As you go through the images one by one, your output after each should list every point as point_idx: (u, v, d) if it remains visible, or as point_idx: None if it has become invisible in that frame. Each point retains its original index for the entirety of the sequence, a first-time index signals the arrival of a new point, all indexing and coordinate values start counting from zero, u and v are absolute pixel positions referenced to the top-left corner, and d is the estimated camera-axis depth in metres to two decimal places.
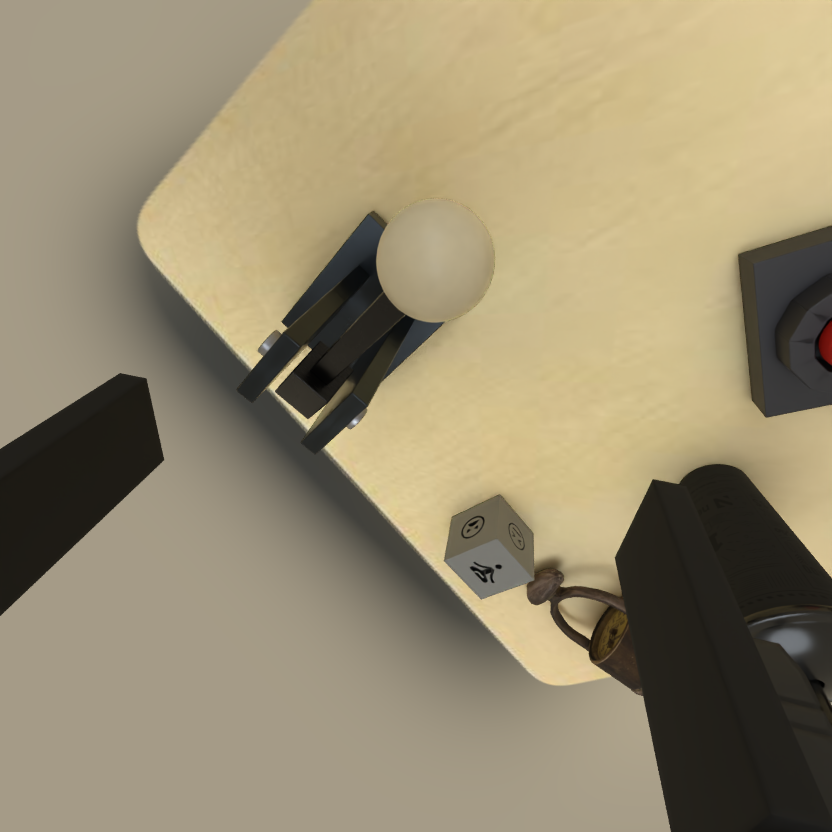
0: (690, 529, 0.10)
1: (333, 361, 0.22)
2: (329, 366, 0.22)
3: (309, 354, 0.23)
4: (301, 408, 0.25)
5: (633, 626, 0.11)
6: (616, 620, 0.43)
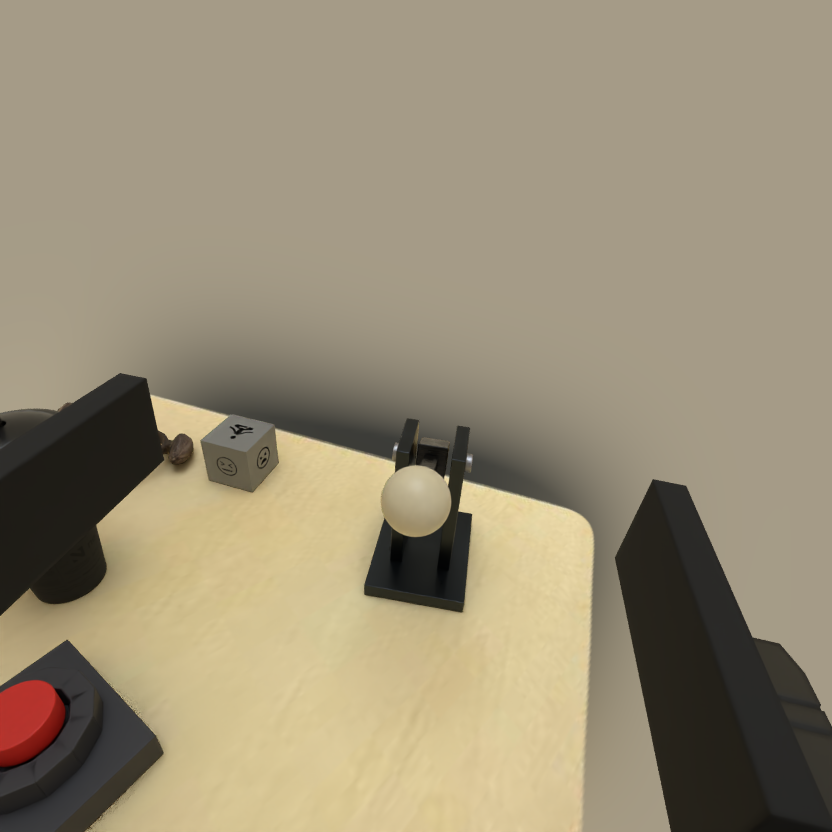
0: (691, 528, 0.10)
1: (430, 460, 0.34)
2: (430, 459, 0.34)
3: (444, 465, 0.36)
4: (430, 439, 0.38)
5: (633, 626, 0.11)
6: None
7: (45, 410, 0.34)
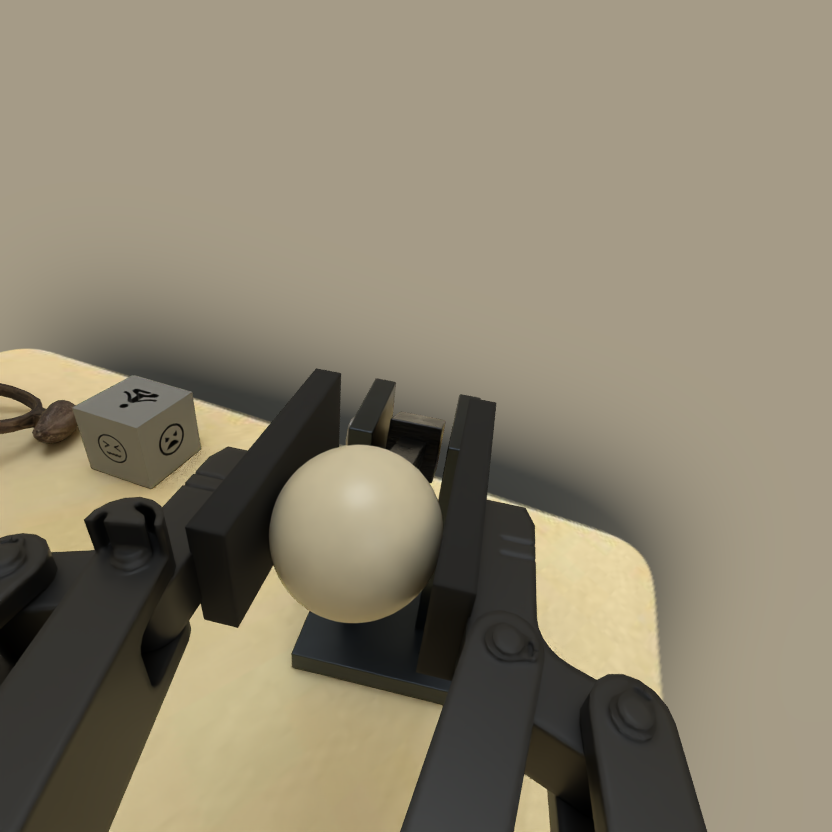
0: (481, 429, 0.12)
1: (407, 447, 0.18)
2: (409, 445, 0.19)
3: (434, 459, 0.20)
4: (412, 415, 0.22)
5: None
6: None
7: None
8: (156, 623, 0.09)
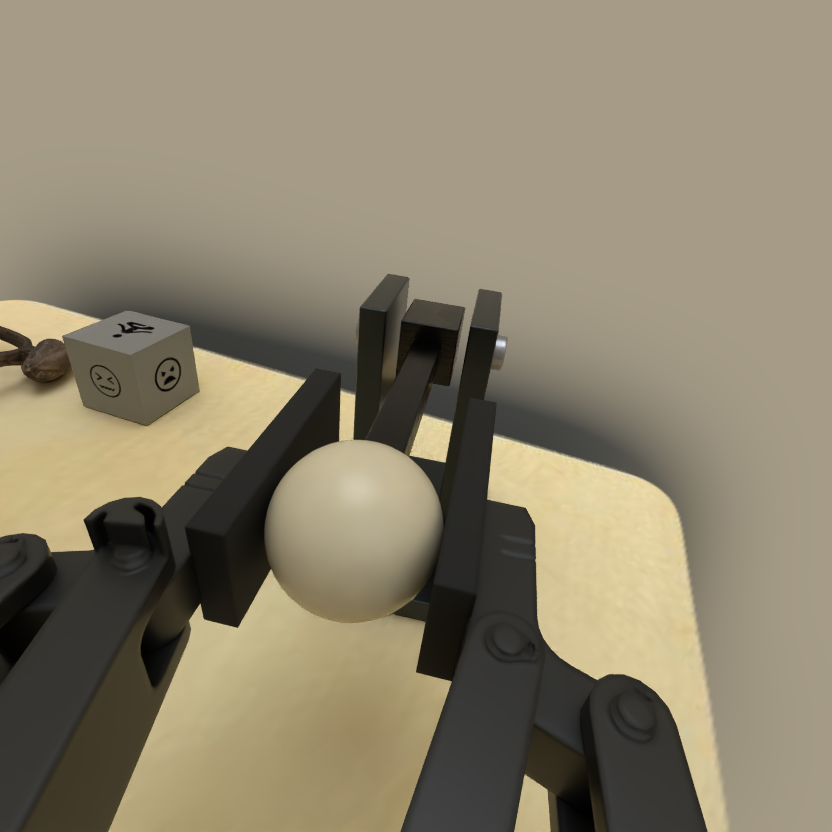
0: (481, 429, 0.12)
1: (419, 363, 0.17)
2: (421, 357, 0.17)
3: (451, 362, 0.19)
4: (427, 304, 0.20)
5: None
6: None
7: None
8: (156, 623, 0.09)
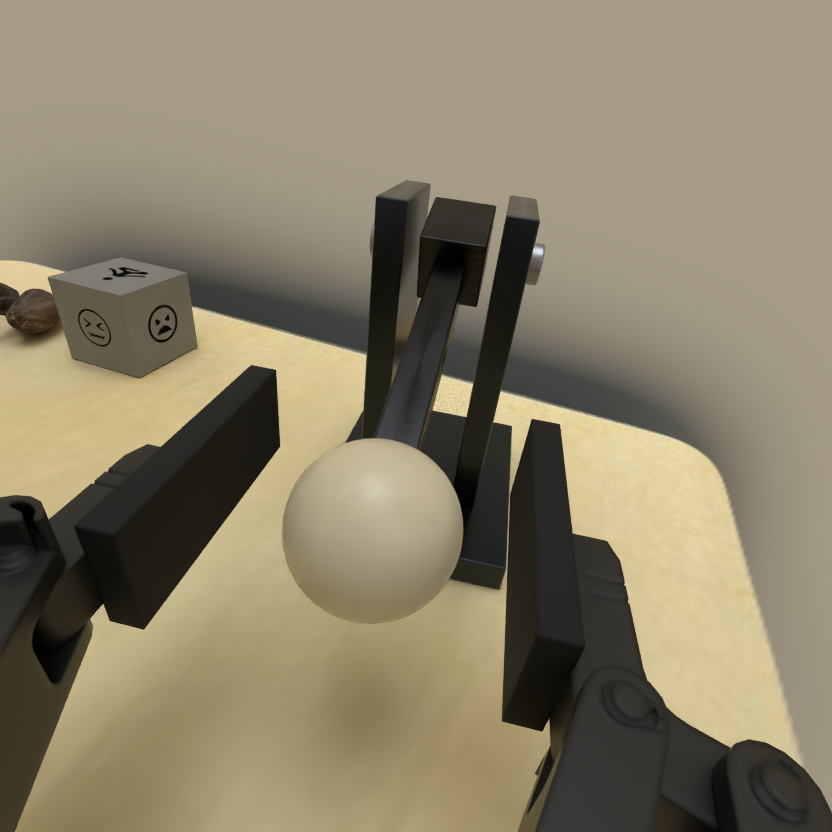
0: (551, 454, 0.12)
1: (441, 295, 0.15)
2: (444, 285, 0.15)
3: (479, 282, 0.16)
4: (451, 206, 0.17)
5: (510, 543, 0.13)
6: None
7: None
8: (50, 621, 0.08)
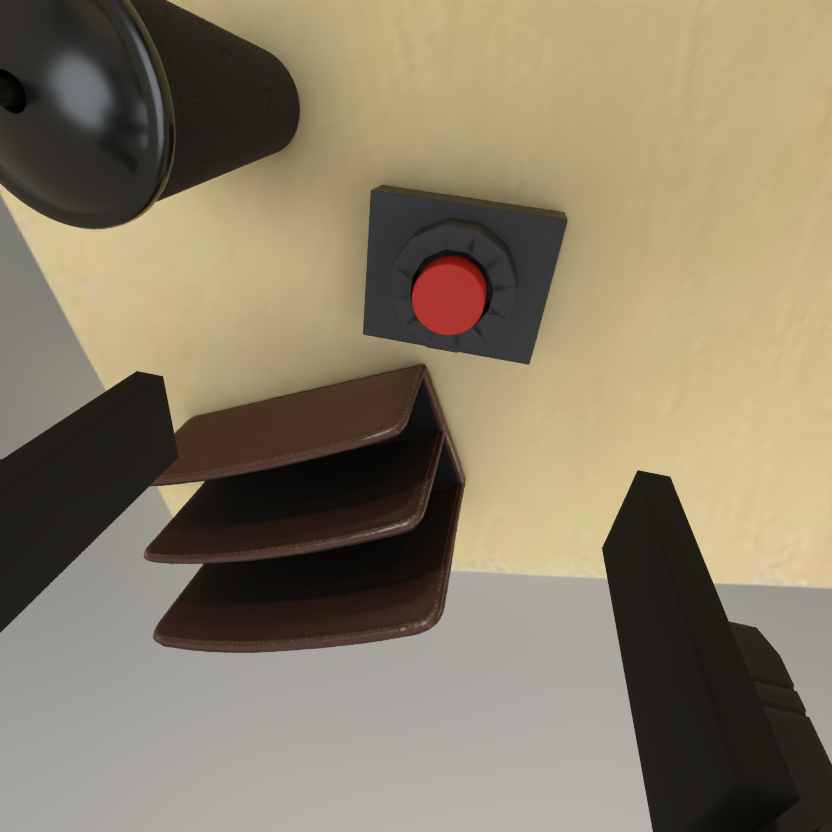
0: (673, 517, 0.10)
1: None
2: None
3: None
4: None
5: (617, 613, 0.11)
6: None
7: None
8: None
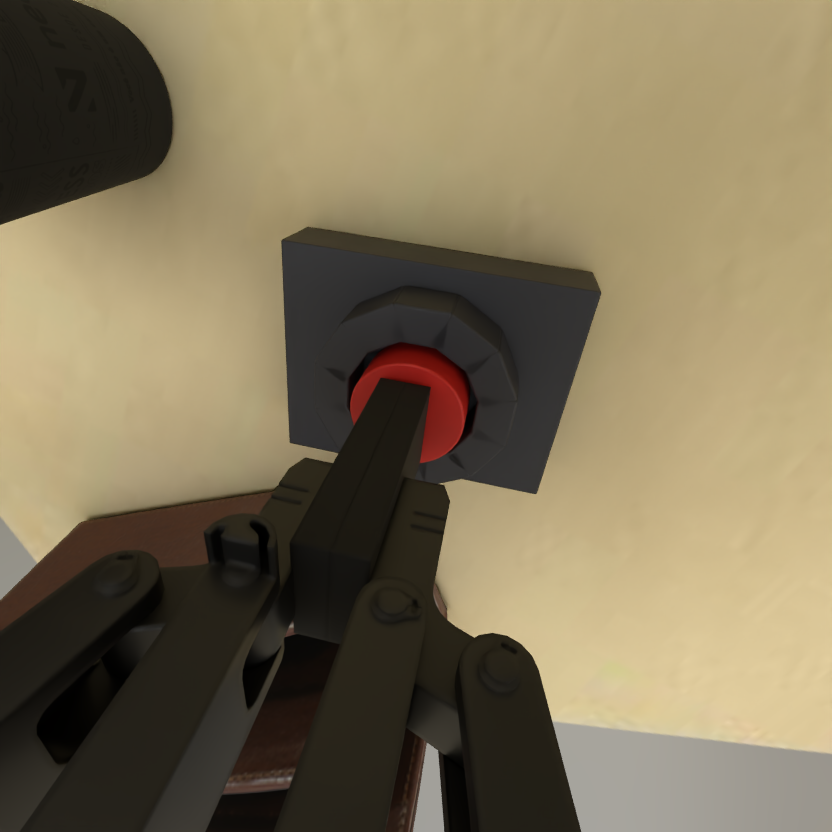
0: (410, 411, 0.13)
1: None
2: None
3: None
4: None
5: None
6: None
7: None
8: (256, 642, 0.08)
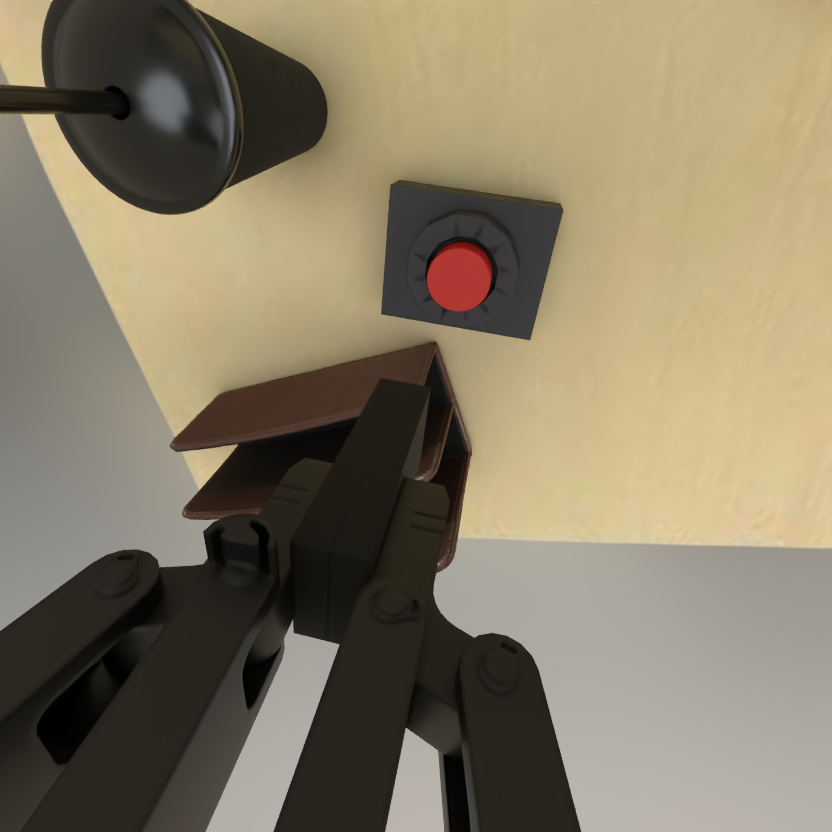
0: (410, 411, 0.13)
1: None
2: None
3: None
4: None
5: None
6: None
7: None
8: (256, 642, 0.08)
